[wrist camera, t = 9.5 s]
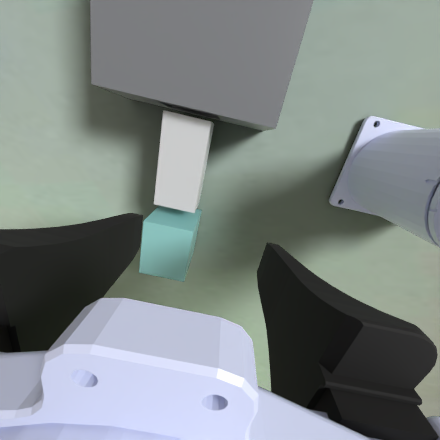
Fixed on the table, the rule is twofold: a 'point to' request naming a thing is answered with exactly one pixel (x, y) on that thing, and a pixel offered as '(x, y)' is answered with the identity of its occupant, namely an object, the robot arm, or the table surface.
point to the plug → (176, 197)
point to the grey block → (200, 54)
